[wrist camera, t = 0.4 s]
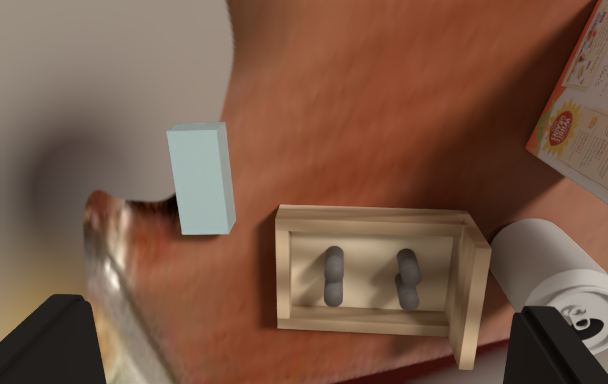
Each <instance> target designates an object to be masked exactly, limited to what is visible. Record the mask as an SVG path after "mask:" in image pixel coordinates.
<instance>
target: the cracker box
mask: <svg viewBox="0 0 608 384" xmlns="http://www.w3.org/2000/svg"><path fill="white" fill-rule="evenodd" d="M525 149H526V150H527V151H529V152H530V153H532V154H533V155H535V156H536V157H537V158H539V159H540V160H542V161H543V162H545V163H546V164H548V165H549V166H551V167H552V168H554V169H555V170H557V171H558V172H560V173H561V174H563V175H564V176H565V177H567V178H568V179H570V180H571V181H573V182H574V183H576V184H577V185H579V186H580V187H582V188H583V189H585V190H586V191H588V192H589V193H591V194H592V195H594V196H595V197H597V198H598V199H600V200H601V201H603V202H604V203H605V204H607V205H608V0H598V1H597V3H596V5H595V7H594V9H593V11H592V14H591V16H590V18H589V20H588V22H587V23H586V25H585V27H584V29H583V31H582V33H581V36H580V38H579V40H578V42H577V44H576V46H575V48H574V50H573V52H572V54H571V56H570V58H569V60H568V62H567V64H566V66H565V68H564V70H563V72H562V74H561V76H560V78H559V80H558V82H557V84H556V86H555V88H554V90H553V92H552V94H551V96H550V98H549V100H548V102H547V104H546V106H545V108H544V110H543V113H542V114H541V116H540V118H539V120H538V122H537V124H536V126H535V128H534V130H533V132H532V134H531V136H530V138H529V140H528V142H527V144H526V147H525Z"/></svg>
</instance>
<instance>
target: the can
mask: <svg viewBox="0 0 608 384" xmlns="http://www.w3.org/2000/svg"><path fill="white" fill-rule="evenodd" d="M490 247H491V248H492V251H491V258H490V264H489V267H490V270H491V272H492V273H493V275H494V277H495V278H496V280H497V282H498V283H499V285H500V287H501V289H502V290H503V292H504V294H505V295H506V297H507V299H508V300H509V302H510V304H511V305H512V307H513V309H514V311H515V312H521V311H522V309H523V307H524V306H553V307H555V308H556V309H557V310H558V311H559V312H560V313H561V315H562V316H563V317H564V319H565V320H566V321H567V322H568V324H569V325H570V326H571V328H572V329H573V330H574V331H575V333H576V334H577V335H578V337H579V338H580V339H581V340H582V342H583V343H584V344H585V346H586V347H587V348H588V349H589V351H590V352H591V353H592V355H594V354H596V353H598V352H601V351H603V350H605V349H607V348H608V274H607V273H606V272H605V271H604V270H603V269H602V268H601V267H600V266H599V265H598V264H597V263H596V262H595V261H594V260H593V259H592V258H591V257H590V256H589V255H588V254H586V253H585V252H584V251H583V250H582V249H581V248H580V247H579V246H578V245H577V244H576V243H575V242H574V241H573V240H572V239H571V238H570V237H569V236H568V235H567V234H566V233H565V232H564V231H562V230H561V229H560V228H559V227H557V226H556V225H555V224H553V223H552V222H549V221H546V220H542V219H524V220H520V221H516V222H513V223H512V224H510V225H508V226H507V227H505V228H503V229H502V230H501V231H500V232H499V233H498V234H497V235H496V236H495V237H494V239H493V241H492V243H491V245H490Z"/></svg>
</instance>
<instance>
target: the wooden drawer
mask: <svg viewBox="0 0 608 384" xmlns="http://www.w3.org/2000/svg"><path fill="white" fill-rule="evenodd" d="M275 233H276V278H277V322H278V328H281V329H301V330H321V331H341V332H361V333H381V334H401V335H421V336H441V337H448V338H449V341H450V344H451V347H452V350H453V353H454V356H455V359H456V362H457V365H458V368H459V369H465V370H473V365H474V358H475V352H476V346H477V340H478V333H479V327H480V321H481V314H482V308H483V302H484V296H485V289H486V283H487V277H488V270H489V264H490V258H491V251H492V248H491V247H490V245H489V244H488V242H487V240H486V239H485V237H484V236H483V234H482V233H481V231H480V230H479V228H478V227H477V225H476V224H475V222H474V221H473V219H472V217H471V216H470V214H469V213H468V211H467V210H443V209H410V208H377V207H344V206H311V205H280V206H279V209H278V212H277V215H276V218H275Z"/></svg>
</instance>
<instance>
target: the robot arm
mask: <svg viewBox="0 0 608 384" xmlns="http://www.w3.org/2000/svg"><path fill="white" fill-rule="evenodd" d="M0 384H106V379H105V373H104V368H103V363H102V358H101V353H100V348H99V343H98V337H97V332H96V327H95V322H94V317H93V312H92V307H91V304H90V303H89V302H87V301H85V300H84V298H83V297H82V296H81V295H72V294H54V295H52V296H50V297H49V298H48V299H47V300H46V301H45V302H44V303H43V304H41V305H40V306H39V307H38V308H37V309H36V310H35V311H34V312H33V313H32V314H30V315H29V316H28V317H27V318H26V319H25V320H24V321H23V322H22V323H21V324H19V325H18V326H17V327H16V328H15V329H14V330H13V331H12V332H11V333H9V334H8V335H7V336H6V337H5V338H4V339H3V340H2V341H1V342H0ZM503 384H608V374H607V373H606V371H605V370H604V369H603V367H602V366H601V365H600V363H599V362H598V361H597V360H596V358H595V357H594V356H593V355H592V353H591V352H590V351H589V349H588V348H587V347H586V346H585V344H584V343H583V342H582V340H581V339H580V338H579V337H578V335H577V334H576V333H575V331H574V330H573V329H572V328H571V326H570V325H569V324H568V322H567V321H566V320H565V319H564V317H563V316H562V315H561V313H560V312H559V311H558V310H557V309H556V308H555V307H553V306H524V307H523V309H522V311H521V312H516V313H514V315H513V319H512V326H511V332H510V339H509V346H508V354H507V361H506V367H505V373H504V380H503Z"/></svg>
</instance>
